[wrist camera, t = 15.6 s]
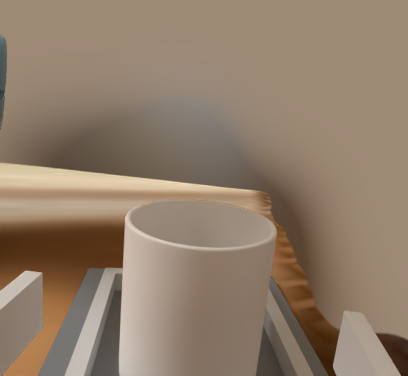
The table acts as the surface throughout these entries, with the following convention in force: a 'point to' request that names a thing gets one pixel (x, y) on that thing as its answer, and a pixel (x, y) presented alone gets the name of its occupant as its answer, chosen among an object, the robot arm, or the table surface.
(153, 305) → the cup
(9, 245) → the table surface
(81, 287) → the rail plate
